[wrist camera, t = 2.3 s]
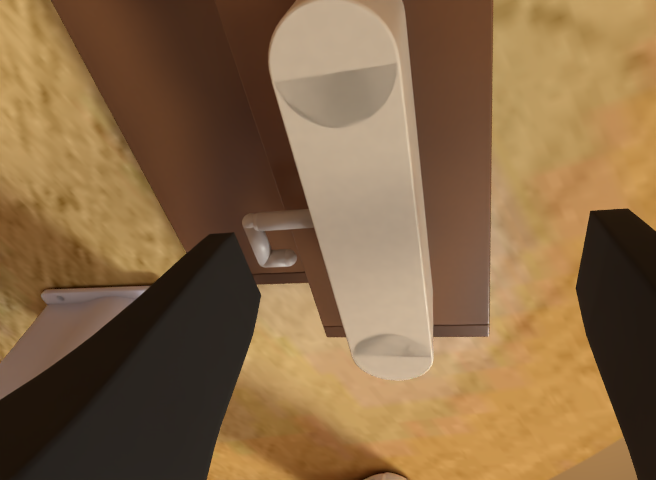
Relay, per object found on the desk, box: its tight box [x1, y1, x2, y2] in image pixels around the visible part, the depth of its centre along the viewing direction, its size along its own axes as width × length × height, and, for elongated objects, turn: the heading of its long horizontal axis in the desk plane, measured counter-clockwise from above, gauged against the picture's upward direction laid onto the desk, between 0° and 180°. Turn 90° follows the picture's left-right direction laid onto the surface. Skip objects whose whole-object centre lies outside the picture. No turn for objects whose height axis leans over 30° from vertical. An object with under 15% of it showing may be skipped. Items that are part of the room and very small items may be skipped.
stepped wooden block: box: [51, 0, 493, 337], centre depth 18 cm, size 15×16×5 cm
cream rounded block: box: [242, 0, 434, 380], centre depth 14 cm, size 6×13×3 cm, turn 12°
